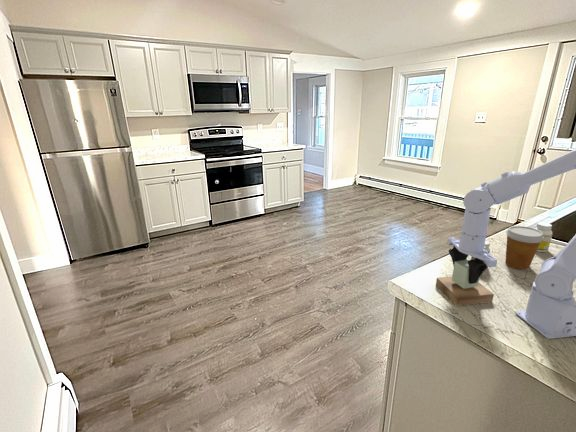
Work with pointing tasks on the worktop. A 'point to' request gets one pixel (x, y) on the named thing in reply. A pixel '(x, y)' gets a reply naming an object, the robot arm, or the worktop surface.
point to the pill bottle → (485, 248)
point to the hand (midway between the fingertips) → (465, 278)
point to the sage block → (462, 274)
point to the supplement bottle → (547, 235)
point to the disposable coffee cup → (522, 246)
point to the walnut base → (464, 292)
